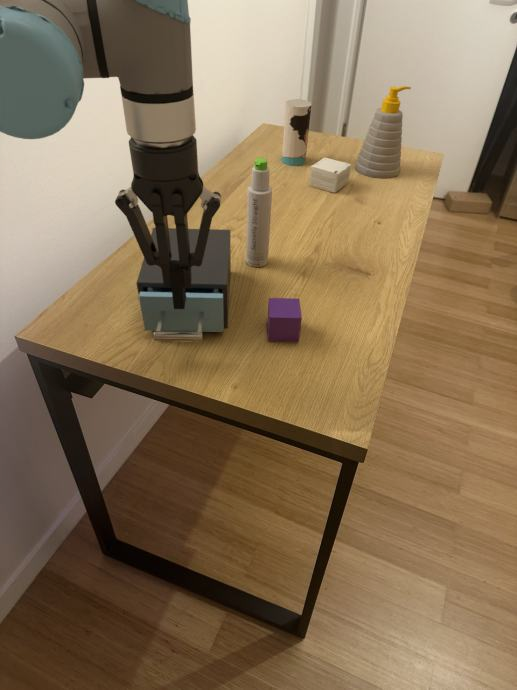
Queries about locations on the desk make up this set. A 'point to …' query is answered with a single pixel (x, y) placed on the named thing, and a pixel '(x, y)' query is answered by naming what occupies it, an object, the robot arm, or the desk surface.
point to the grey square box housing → (205, 276)
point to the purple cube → (284, 319)
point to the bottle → (258, 215)
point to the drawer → (182, 313)
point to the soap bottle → (383, 140)
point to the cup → (296, 131)
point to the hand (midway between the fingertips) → (180, 303)
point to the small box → (329, 174)
